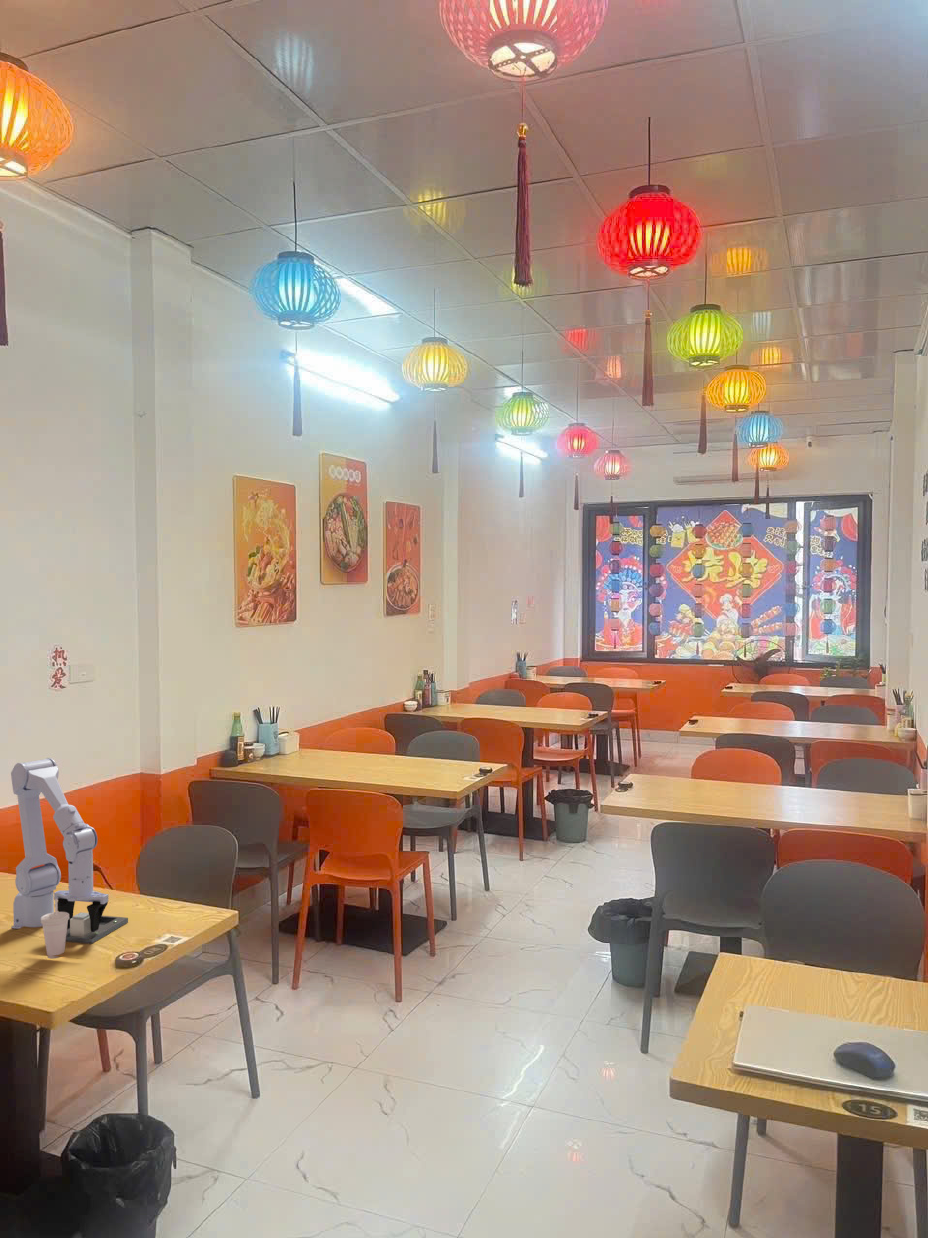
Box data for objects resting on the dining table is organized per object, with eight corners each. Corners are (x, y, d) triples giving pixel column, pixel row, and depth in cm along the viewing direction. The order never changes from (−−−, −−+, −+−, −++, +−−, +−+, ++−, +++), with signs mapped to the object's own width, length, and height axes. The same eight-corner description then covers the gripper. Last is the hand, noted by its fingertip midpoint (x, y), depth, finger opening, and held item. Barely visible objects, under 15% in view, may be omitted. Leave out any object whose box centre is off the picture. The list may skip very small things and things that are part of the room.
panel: (53, 943, 221) (53, 934, 221) (92, 922, 235) (91, 914, 235) (91, 947, 218) (91, 938, 218) (128, 925, 233) (128, 917, 233)
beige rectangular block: (70, 938, 222) (69, 917, 221) (80, 933, 225) (80, 911, 225) (84, 940, 221) (83, 918, 221) (94, 934, 225) (93, 913, 224)
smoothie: (51, 963, 209) (50, 904, 208) (35, 957, 212) (34, 900, 212) (75, 953, 214) (74, 897, 214) (59, 948, 217) (59, 892, 217)
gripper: (45, 879, 220) (46, 932, 221) (95, 883, 217) (96, 937, 217) (64, 871, 227) (65, 922, 227) (113, 874, 224) (114, 927, 224)
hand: (81, 929), depth 223 cm, fingers open, 7 cm apart
